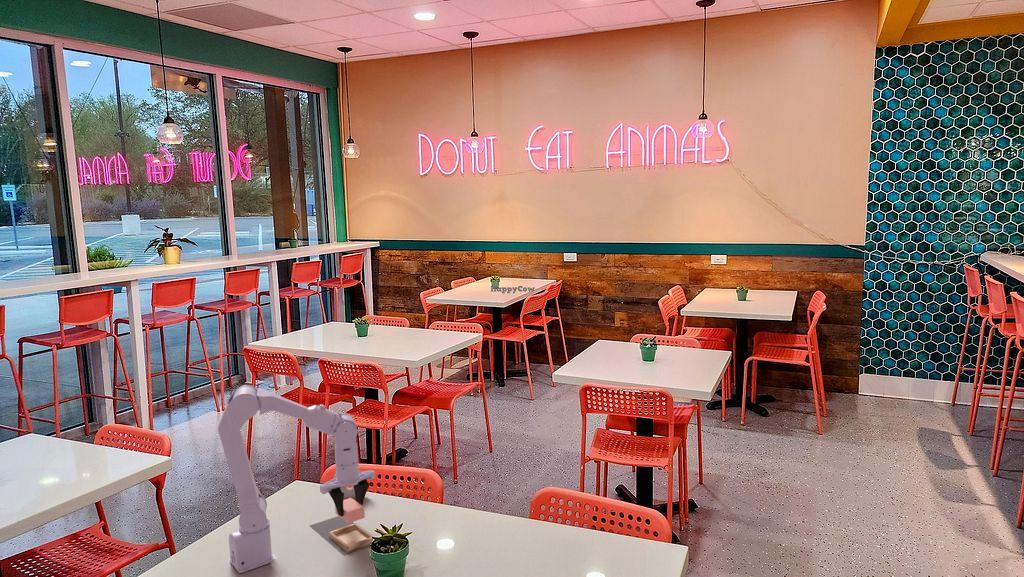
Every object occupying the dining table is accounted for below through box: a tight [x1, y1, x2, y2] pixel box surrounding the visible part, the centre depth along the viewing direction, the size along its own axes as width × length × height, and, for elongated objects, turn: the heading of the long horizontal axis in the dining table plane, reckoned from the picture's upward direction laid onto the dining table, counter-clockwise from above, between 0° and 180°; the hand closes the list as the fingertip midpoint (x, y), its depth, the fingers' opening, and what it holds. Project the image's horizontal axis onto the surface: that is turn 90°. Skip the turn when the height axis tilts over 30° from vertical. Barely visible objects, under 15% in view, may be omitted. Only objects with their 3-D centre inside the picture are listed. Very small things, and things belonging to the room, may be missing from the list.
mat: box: [309, 515, 371, 557], centre depth 181 cm, size 10×22×1 cm, turn 39°
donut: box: [332, 470, 361, 499], centre depth 204 cm, size 10×4×10 cm, turn 84°
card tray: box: [329, 522, 376, 553], centre depth 177 cm, size 8×11×2 cm
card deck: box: [334, 498, 366, 523], centre depth 176 cm, size 8×5×3 cm, turn 39°
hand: (349, 511), depth 176 cm, fingers closed on card deck, 5 cm apart
